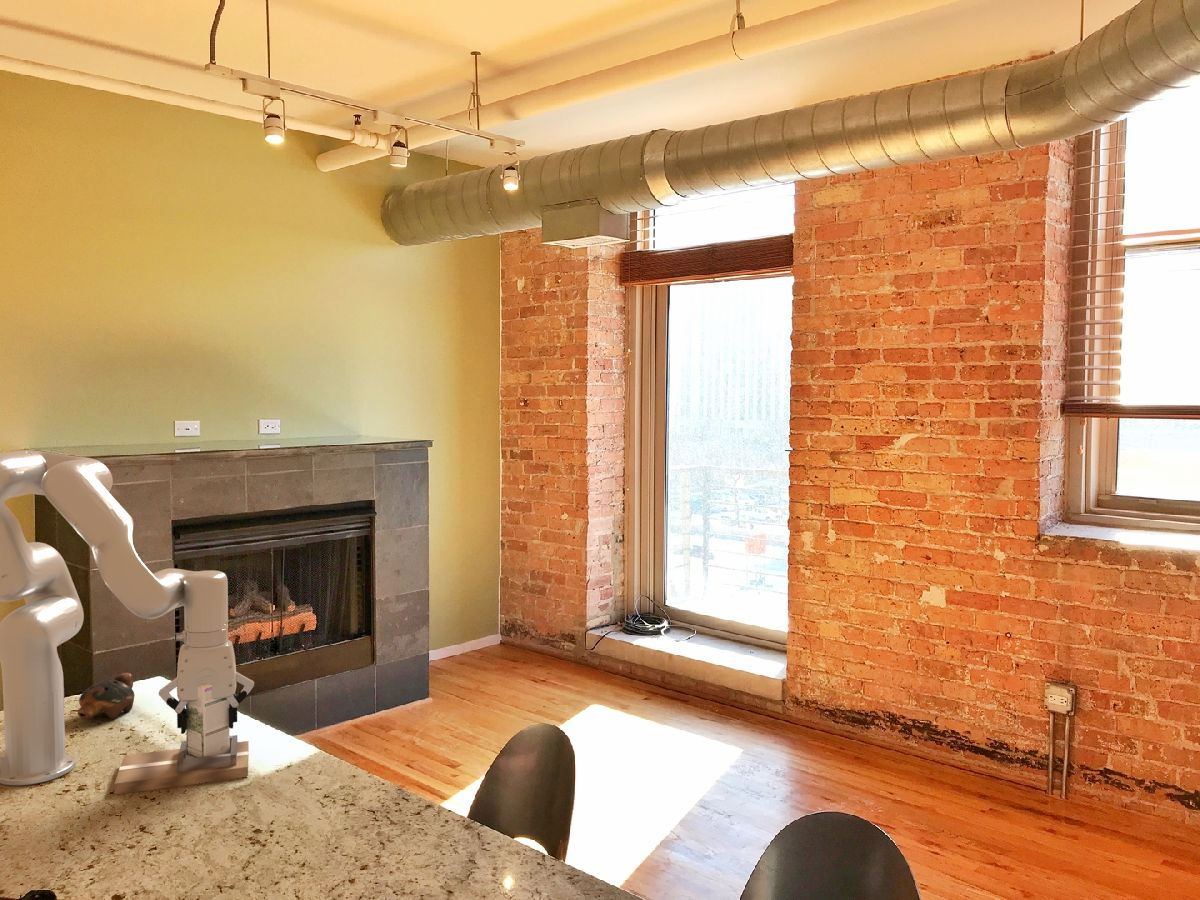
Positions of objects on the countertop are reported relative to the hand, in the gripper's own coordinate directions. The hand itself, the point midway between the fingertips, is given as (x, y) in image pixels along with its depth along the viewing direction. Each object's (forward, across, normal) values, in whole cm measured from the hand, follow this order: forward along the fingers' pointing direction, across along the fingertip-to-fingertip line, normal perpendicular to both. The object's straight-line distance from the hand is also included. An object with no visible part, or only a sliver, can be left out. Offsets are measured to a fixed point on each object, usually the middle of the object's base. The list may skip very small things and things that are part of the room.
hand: (207, 728), depth 170 cm
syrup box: (+5, 0, 0) cm, 5 cm away
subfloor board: (+8, -4, 0) cm, 9 cm away
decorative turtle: (+8, -22, +36) cm, 43 cm away
